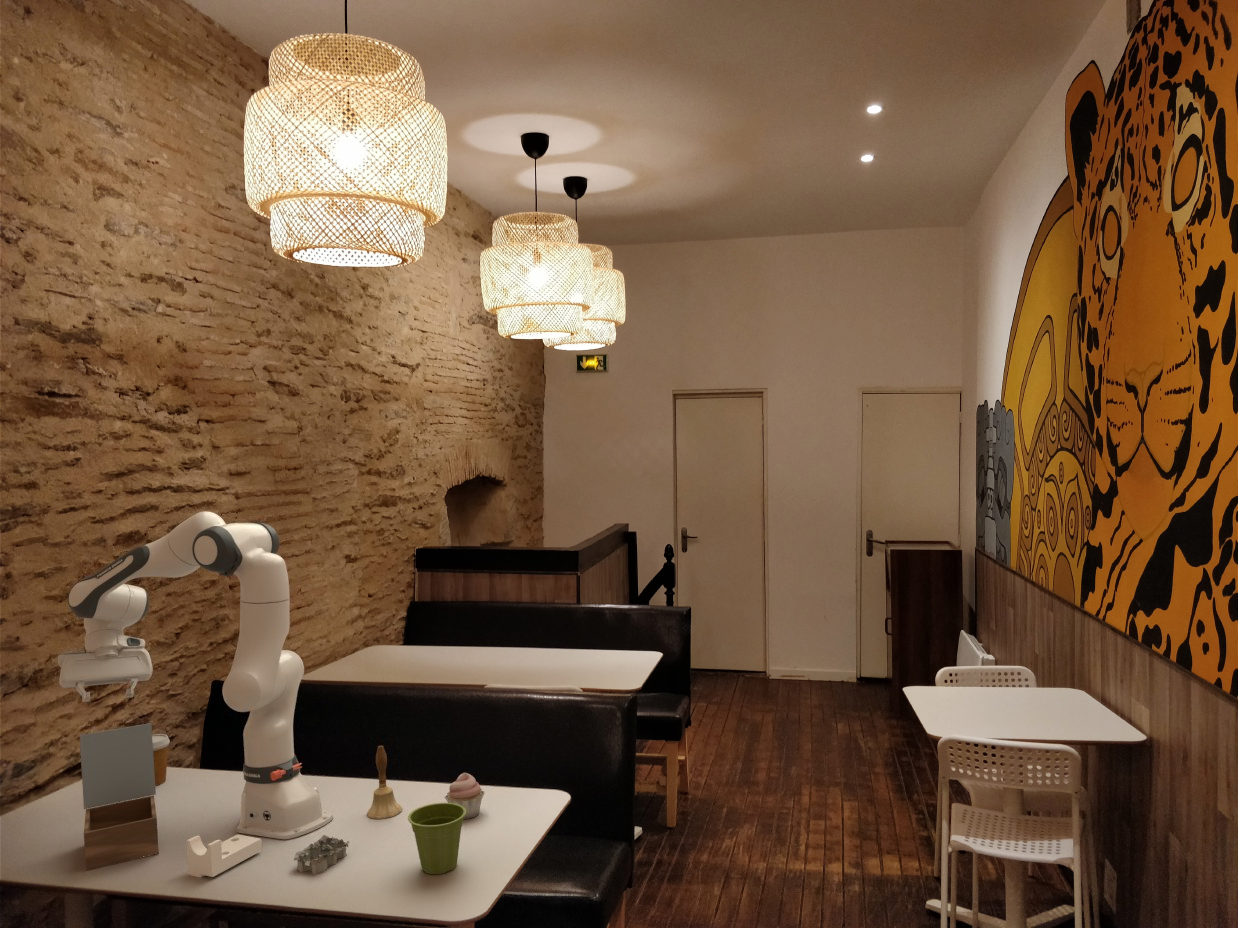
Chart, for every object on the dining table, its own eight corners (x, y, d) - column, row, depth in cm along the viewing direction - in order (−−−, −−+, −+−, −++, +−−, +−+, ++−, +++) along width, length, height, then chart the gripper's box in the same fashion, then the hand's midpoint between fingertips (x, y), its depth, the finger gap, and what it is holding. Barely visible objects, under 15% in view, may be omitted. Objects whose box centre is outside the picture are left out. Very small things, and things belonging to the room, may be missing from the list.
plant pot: (417, 885, 183) (414, 829, 182) (405, 862, 194) (403, 809, 193) (475, 872, 187) (472, 817, 187) (461, 849, 198) (458, 797, 198)
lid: (83, 808, 211) (84, 808, 212) (155, 794, 218) (155, 793, 219) (79, 735, 213) (79, 734, 214) (151, 723, 220) (151, 722, 221)
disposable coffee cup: (179, 779, 251) (176, 736, 250) (145, 791, 243) (142, 746, 242) (159, 774, 256) (156, 731, 256) (125, 786, 248) (122, 741, 247)
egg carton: (319, 877, 189) (318, 857, 189) (290, 871, 192) (289, 852, 192) (353, 854, 199) (352, 835, 199) (325, 849, 202) (324, 831, 202)
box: (88, 843, 211) (85, 808, 211) (156, 828, 218) (154, 795, 218) (86, 870, 197) (83, 833, 197) (158, 853, 204) (156, 817, 204)
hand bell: (359, 814, 220) (355, 748, 220) (387, 802, 227) (383, 738, 227) (381, 821, 215) (377, 754, 215) (409, 809, 222) (405, 744, 222)
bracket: (212, 881, 190) (210, 845, 190) (188, 875, 193) (186, 840, 193) (262, 854, 201) (260, 820, 201) (238, 849, 204) (236, 816, 204)
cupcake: (459, 825, 211) (457, 782, 211) (438, 814, 218) (436, 773, 218) (493, 813, 217) (491, 771, 217) (472, 803, 224) (470, 762, 224)
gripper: (59, 645, 224) (60, 697, 217) (151, 639, 237) (155, 688, 230) (55, 657, 228) (57, 709, 221) (147, 651, 241) (151, 699, 233)
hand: (108, 698), depth 225 cm, fingers open, 8 cm apart
